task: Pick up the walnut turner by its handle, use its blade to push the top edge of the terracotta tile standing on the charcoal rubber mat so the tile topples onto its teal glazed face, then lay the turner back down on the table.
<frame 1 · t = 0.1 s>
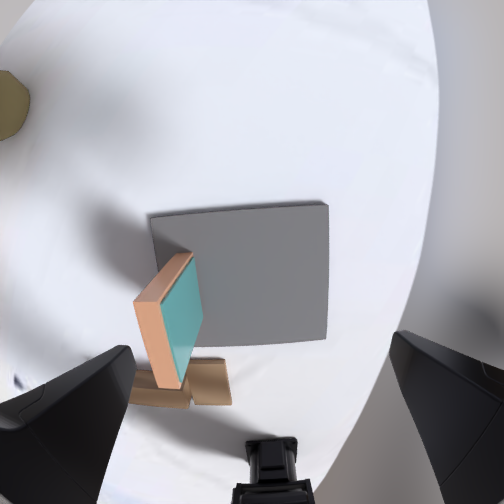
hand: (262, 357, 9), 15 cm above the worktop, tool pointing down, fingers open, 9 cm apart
squeeze bottle: (15, 111, 19), on the worktop
mat: (243, 281, 24), on the worktop
turner: (131, 377, 27), on the worktop
tile: (189, 287, 23), point 1 cm above the worktop, touching mat
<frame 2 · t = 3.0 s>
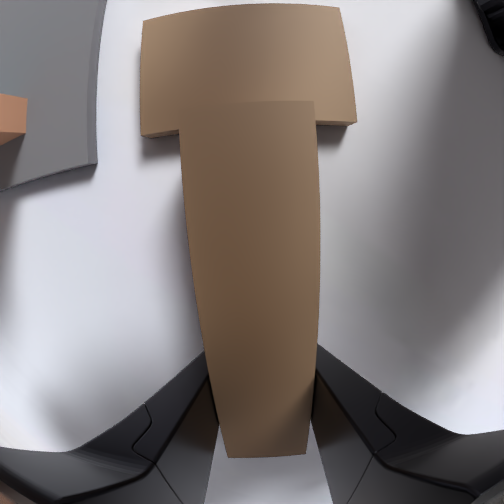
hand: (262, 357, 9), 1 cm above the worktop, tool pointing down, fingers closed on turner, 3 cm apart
mat: (5, 52, 6), on the worktop
turner: (261, 340, 10), on the worktop, touching gripper
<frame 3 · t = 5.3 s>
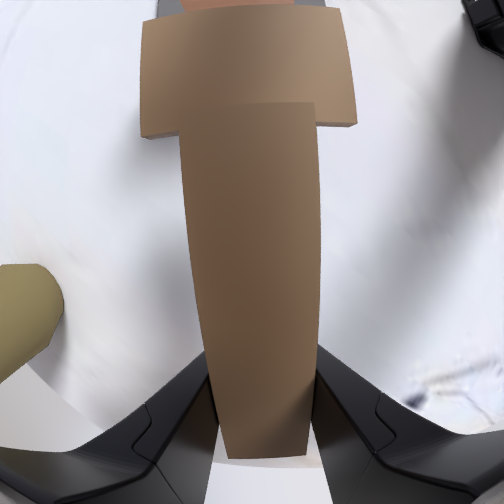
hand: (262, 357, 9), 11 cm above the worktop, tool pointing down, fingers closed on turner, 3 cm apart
squeeze bottle: (43, 291, 21), on the worktop
turner: (261, 342, 10), point 10 cm above the worktop, touching gripper
tile: (241, 24, 14), point 1 cm above the worktop, touching mat
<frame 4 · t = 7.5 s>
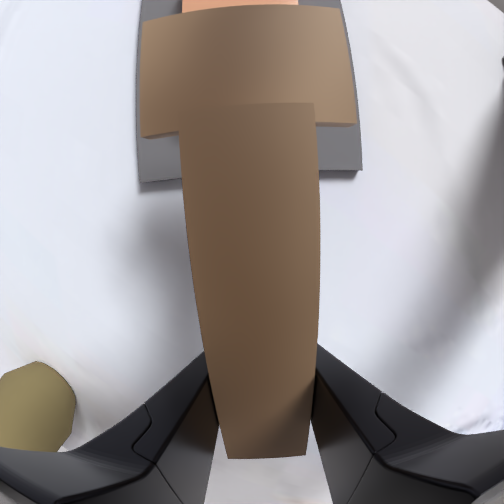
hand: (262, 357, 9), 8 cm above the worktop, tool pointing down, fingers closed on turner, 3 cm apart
squeeze bottle: (53, 383, 20), on the worktop
mat: (243, 53, 13), on the worktop
turner: (261, 342, 10), point 7 cm above the worktop, touching gripper
tile: (246, 104, 12), point 1 cm above the worktop, tilted 90°, touching mat
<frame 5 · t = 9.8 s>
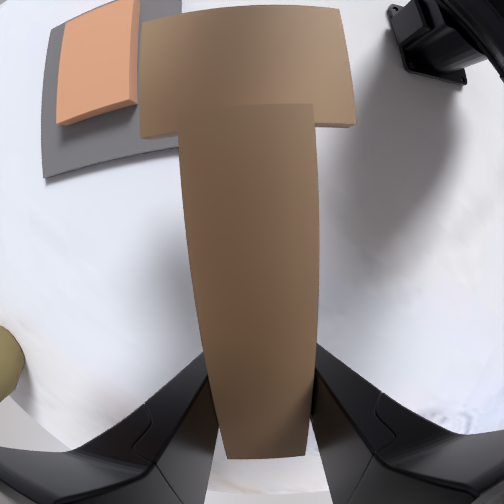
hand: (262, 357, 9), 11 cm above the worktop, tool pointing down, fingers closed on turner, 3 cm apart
squeeze bottle: (10, 345, 22), on the worktop
mat: (104, 72, 15), on the worktop
turner: (261, 342, 10), point 10 cm above the worktop, touching gripper
tile: (94, 113, 15), point 1 cm above the worktop, tilted 90°, touching mat
when the fingers open (3 cm above the worktop, at t = 11.7 s): turner drops 2 cm, on the worktop.
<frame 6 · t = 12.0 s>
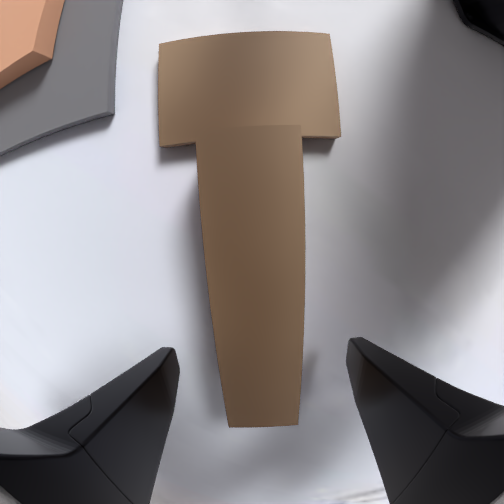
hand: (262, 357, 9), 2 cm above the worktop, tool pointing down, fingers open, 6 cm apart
mat: (29, 29, 7), on the worktop
turner: (259, 323, 11), on the worktop
tile: (0, 80, 7), point 1 cm above the worktop, tilted 90°, touching mat
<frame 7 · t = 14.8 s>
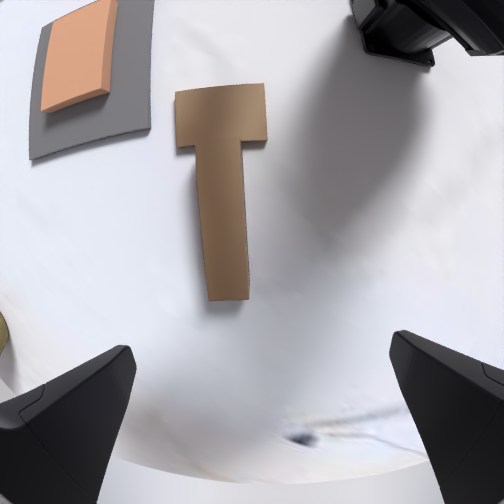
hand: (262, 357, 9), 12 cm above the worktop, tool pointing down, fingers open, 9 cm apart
mat: (85, 65, 16), on the worktop
turner: (229, 243, 20), on the worktop
tile: (73, 101, 16), point 1 cm above the worktop, tilted 90°, touching mat
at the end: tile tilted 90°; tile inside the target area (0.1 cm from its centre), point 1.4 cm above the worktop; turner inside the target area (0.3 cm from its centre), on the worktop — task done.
